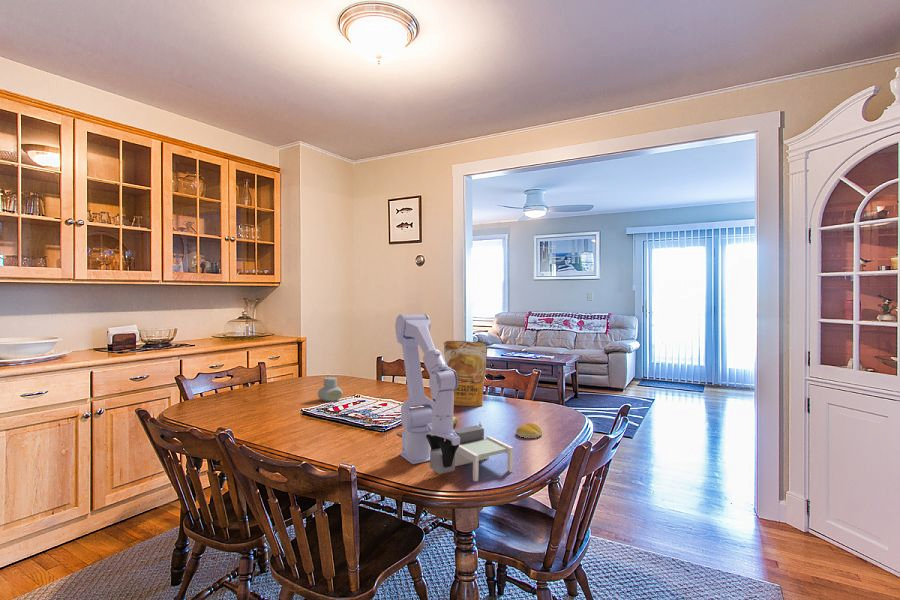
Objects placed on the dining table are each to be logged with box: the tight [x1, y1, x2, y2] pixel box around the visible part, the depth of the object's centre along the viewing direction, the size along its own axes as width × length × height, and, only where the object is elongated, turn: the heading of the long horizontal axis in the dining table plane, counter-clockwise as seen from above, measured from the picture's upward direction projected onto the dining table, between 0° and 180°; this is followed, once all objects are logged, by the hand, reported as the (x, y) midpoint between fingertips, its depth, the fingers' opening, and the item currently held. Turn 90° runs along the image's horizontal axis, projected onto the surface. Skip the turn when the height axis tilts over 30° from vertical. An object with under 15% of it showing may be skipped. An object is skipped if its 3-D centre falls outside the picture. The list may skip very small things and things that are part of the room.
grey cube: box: [429, 448, 456, 475], centre depth 128 cm, size 5×5×5 cm
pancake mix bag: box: [443, 340, 488, 408], centre depth 205 cm, size 7×19×28 cm, turn 81°
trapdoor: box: [453, 425, 506, 458], centre depth 136 cm, size 14×10×4 cm
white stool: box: [455, 435, 514, 482], centre depth 136 cm, size 16×13×7 cm
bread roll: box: [515, 422, 543, 439], centre depth 165 cm, size 8×9×4 cm
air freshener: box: [317, 376, 344, 403], centre depth 211 cm, size 11×8×10 cm
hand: (442, 463), depth 128 cm, fingers closed on grey cube, 5 cm apart
